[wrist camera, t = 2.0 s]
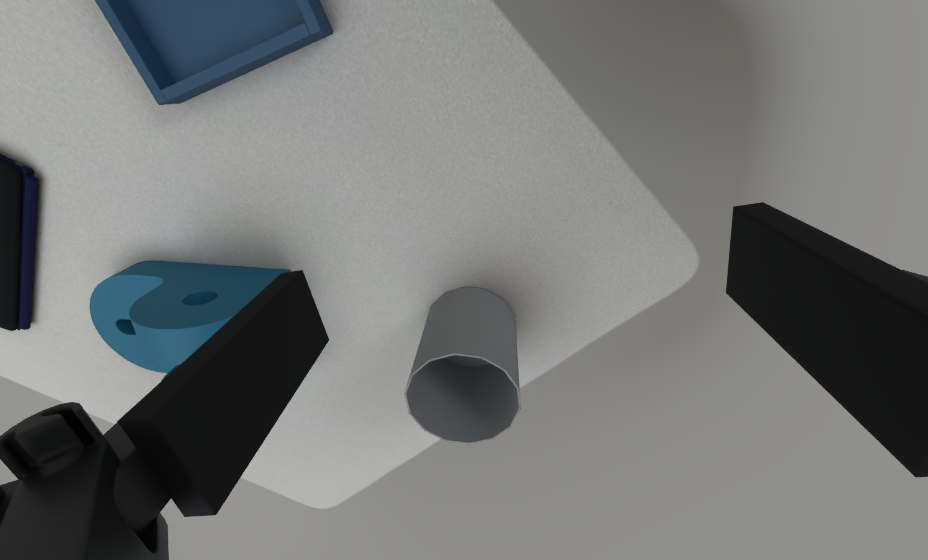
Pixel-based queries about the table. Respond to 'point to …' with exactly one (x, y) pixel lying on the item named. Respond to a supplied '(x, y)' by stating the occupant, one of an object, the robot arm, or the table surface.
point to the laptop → (16, 243)
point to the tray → (209, 39)
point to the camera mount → (171, 308)
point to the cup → (466, 368)
